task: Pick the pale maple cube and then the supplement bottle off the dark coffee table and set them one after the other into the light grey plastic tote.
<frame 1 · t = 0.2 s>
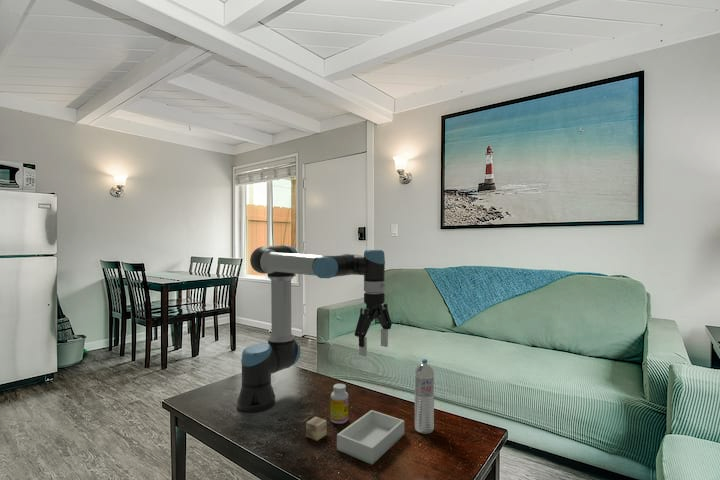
hand: (374, 350, 134), 27 cm above the table, fingers open, 13 cm apart
water bottle: (424, 430, 132), on the table
supplement bottle: (339, 420, 139), on the table
tote: (371, 442, 124), on the table
maple cube: (316, 435, 128), on the table
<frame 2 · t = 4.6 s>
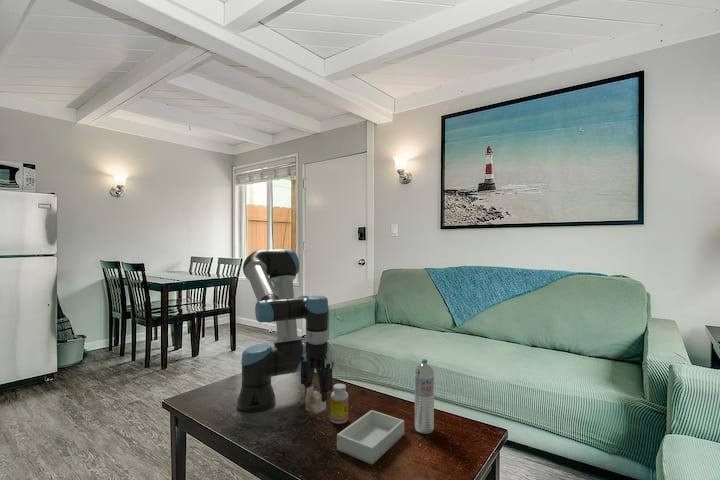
hand: (315, 407, 128), 9 cm above the table, fingers closed on maple cube, 5 cm apart
maple cube: (315, 408, 128), point 9 cm above the table, touching gripper
everything else where it was.
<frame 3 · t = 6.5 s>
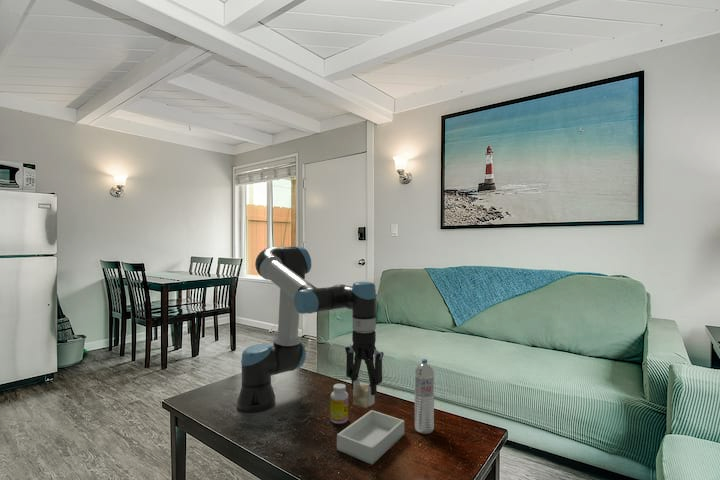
hand: (363, 401, 120), 15 cm above the table, fingers closed on maple cube, 5 cm apart
maple cube: (363, 403, 120), point 15 cm above the table, touching gripper
everything else where it was.
when the fingers open (5 cm above the table, at t = 8.4 s): maple cube drops 4 cm, resting on tote.
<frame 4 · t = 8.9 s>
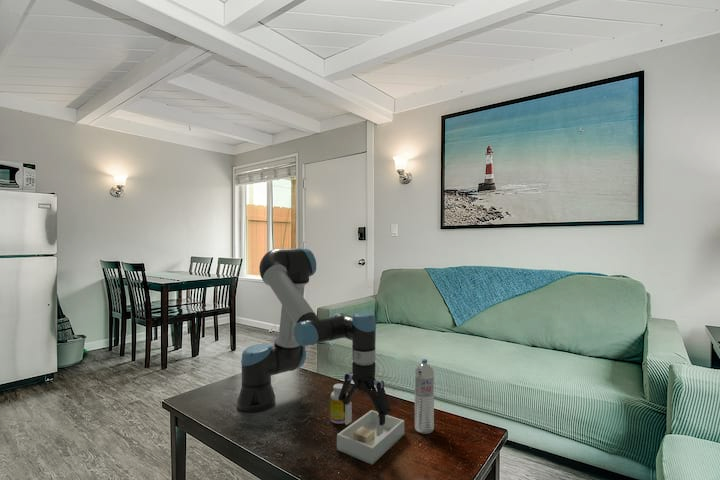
hand: (363, 428, 120), 7 cm above the table, fingers open, 11 cm apart
maple cube: (364, 447, 120), point 1 cm above the table, touching tote
everything else where it was.
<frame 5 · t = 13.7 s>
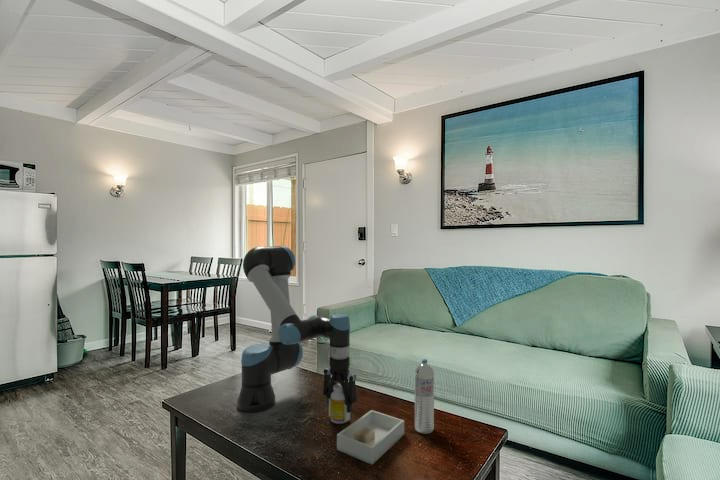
hand: (339, 417, 139), 1 cm above the table, fingers closed on supplement bottle, 7 cm apart
supplement bottle: (339, 420, 139), on the table, touching gripper
everything else where it was.
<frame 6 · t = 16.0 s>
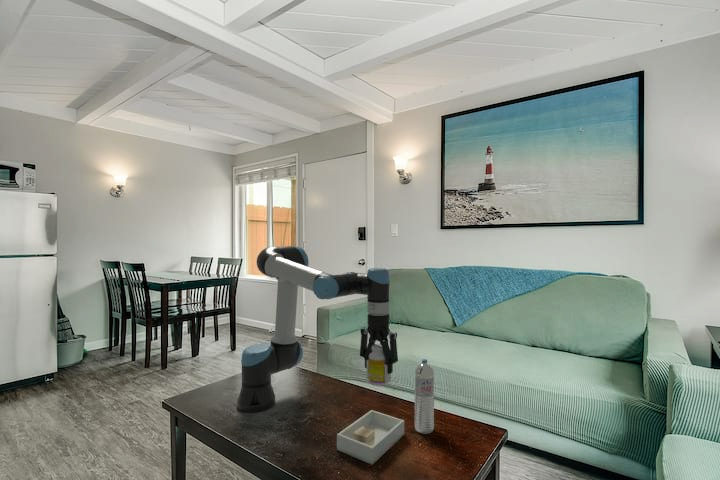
hand: (378, 379, 128), 19 cm above the table, fingers closed on supplement bottle, 7 cm apart
supplement bottle: (378, 383, 128), point 18 cm above the table, touching gripper
everything else where it was.
when the fingers open (6 cm above the table, at t = 18.8 s): supplement bottle drops 4 cm, resting on tote.
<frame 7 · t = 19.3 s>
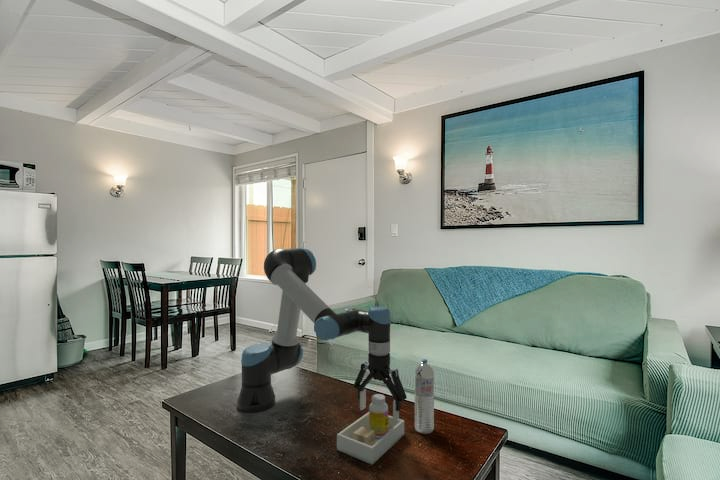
hand: (378, 414, 128), 8 cm above the table, fingers open, 13 cm apart
supplement bottle: (379, 434, 127), point 1 cm above the table, touching tote
everything else where it was.
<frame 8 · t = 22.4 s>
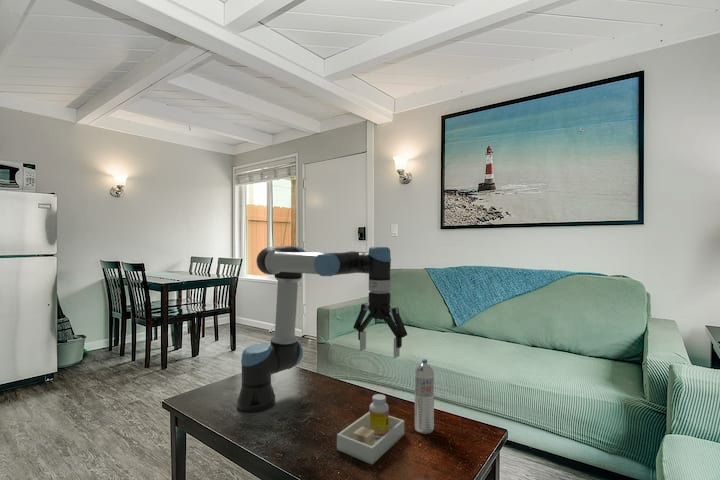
hand: (379, 353, 127), 29 cm above the table, fingers open, 13 cm apart
nothing on the table moved.
at the end: maple cube inside the target area on the tote (5.1 cm from its centre), point 0.8 cm above the tote's base; supplement bottle inside the target area on the tote (4.3 cm from its centre), point 0.6 cm above the tote's base; the gripper is holding nothing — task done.
